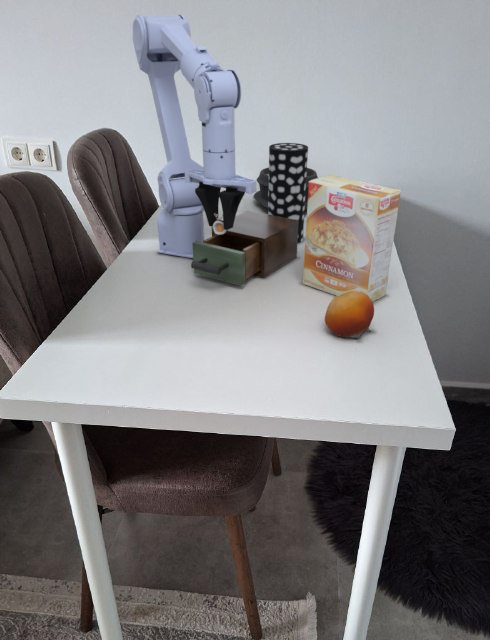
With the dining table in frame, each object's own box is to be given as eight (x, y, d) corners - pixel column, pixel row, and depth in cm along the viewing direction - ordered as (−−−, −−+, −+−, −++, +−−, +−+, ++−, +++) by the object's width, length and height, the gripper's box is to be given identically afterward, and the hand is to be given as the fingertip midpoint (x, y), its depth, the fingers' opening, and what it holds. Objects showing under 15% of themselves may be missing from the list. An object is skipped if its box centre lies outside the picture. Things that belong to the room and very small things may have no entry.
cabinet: (264, 278, 114) (264, 238, 109) (212, 265, 119) (211, 227, 115) (296, 257, 123) (298, 220, 119) (247, 246, 129) (247, 210, 124)
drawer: (229, 293, 106) (228, 261, 102) (180, 280, 111) (178, 248, 107) (275, 265, 117) (276, 235, 114) (229, 254, 122) (228, 225, 119)
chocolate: (230, 232, 109) (229, 211, 107) (226, 236, 108) (226, 215, 105) (215, 231, 110) (214, 210, 108) (211, 235, 108) (211, 213, 106)
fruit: (372, 342, 90) (352, 296, 87) (331, 353, 95) (311, 309, 93) (390, 322, 95) (372, 278, 93) (350, 333, 100) (332, 292, 98)
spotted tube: (262, 242, 131) (263, 148, 120) (274, 231, 138) (277, 141, 126) (296, 247, 129) (301, 152, 117) (307, 235, 135) (313, 144, 124)
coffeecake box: (301, 284, 112) (307, 180, 101) (323, 273, 116) (331, 173, 105) (364, 307, 103) (379, 197, 92) (386, 295, 108) (402, 188, 96)
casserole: (322, 218, 146) (325, 184, 141) (250, 216, 147) (250, 182, 142) (319, 192, 166) (322, 161, 161) (256, 190, 167) (256, 160, 162)
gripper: (172, 148, 101) (177, 225, 108) (240, 159, 94) (241, 239, 102) (196, 142, 106) (199, 215, 113) (263, 151, 99) (261, 229, 107)
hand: (220, 226), depth 108 cm, fingers closed on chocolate, 3 cm apart
